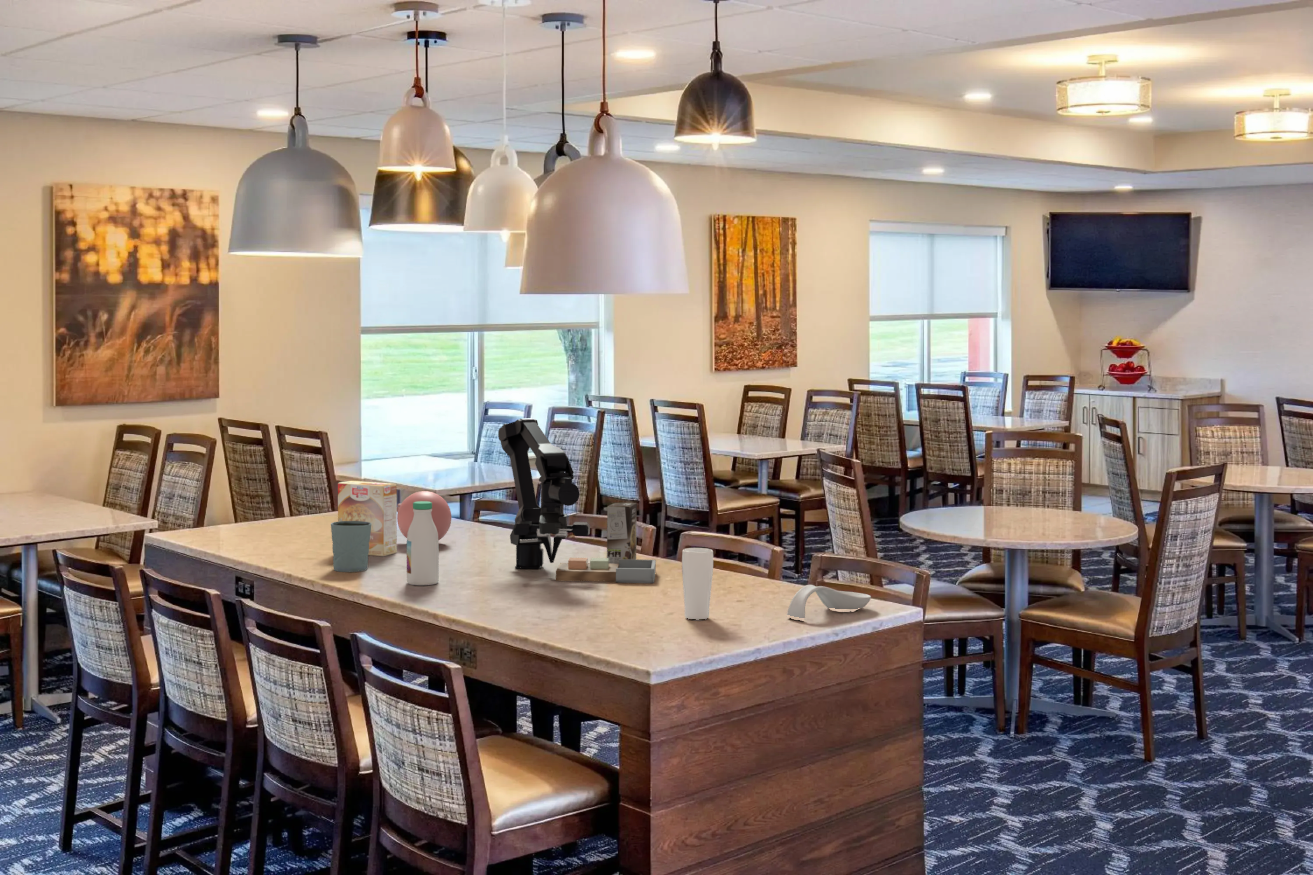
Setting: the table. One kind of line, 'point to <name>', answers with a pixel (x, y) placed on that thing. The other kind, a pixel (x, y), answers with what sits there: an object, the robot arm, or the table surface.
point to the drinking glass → (697, 581)
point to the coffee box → (621, 531)
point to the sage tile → (599, 563)
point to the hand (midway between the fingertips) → (551, 562)
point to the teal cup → (350, 545)
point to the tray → (636, 571)
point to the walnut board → (586, 573)
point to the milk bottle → (422, 547)
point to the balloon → (438, 513)
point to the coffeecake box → (371, 512)
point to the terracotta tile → (578, 563)
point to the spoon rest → (826, 599)
